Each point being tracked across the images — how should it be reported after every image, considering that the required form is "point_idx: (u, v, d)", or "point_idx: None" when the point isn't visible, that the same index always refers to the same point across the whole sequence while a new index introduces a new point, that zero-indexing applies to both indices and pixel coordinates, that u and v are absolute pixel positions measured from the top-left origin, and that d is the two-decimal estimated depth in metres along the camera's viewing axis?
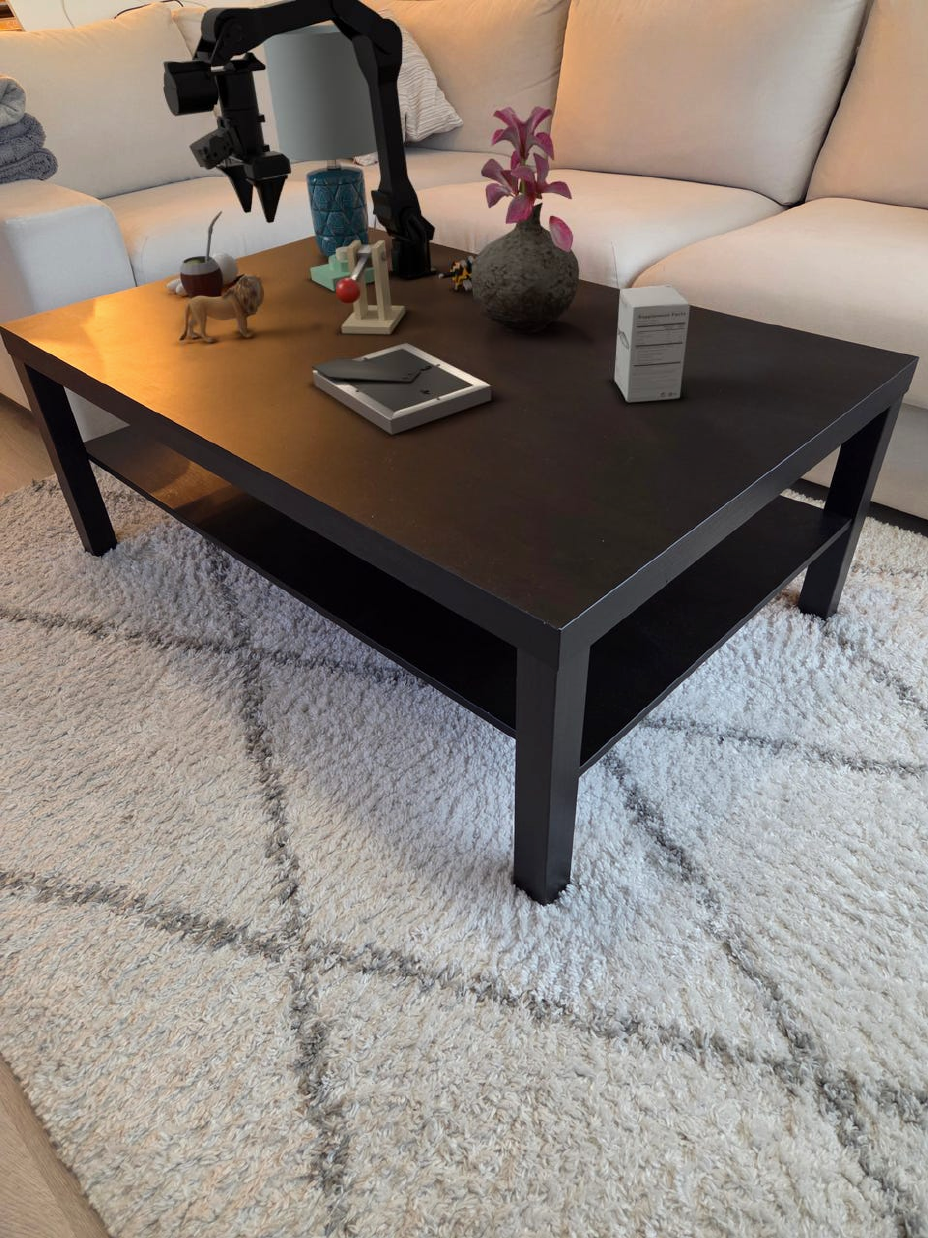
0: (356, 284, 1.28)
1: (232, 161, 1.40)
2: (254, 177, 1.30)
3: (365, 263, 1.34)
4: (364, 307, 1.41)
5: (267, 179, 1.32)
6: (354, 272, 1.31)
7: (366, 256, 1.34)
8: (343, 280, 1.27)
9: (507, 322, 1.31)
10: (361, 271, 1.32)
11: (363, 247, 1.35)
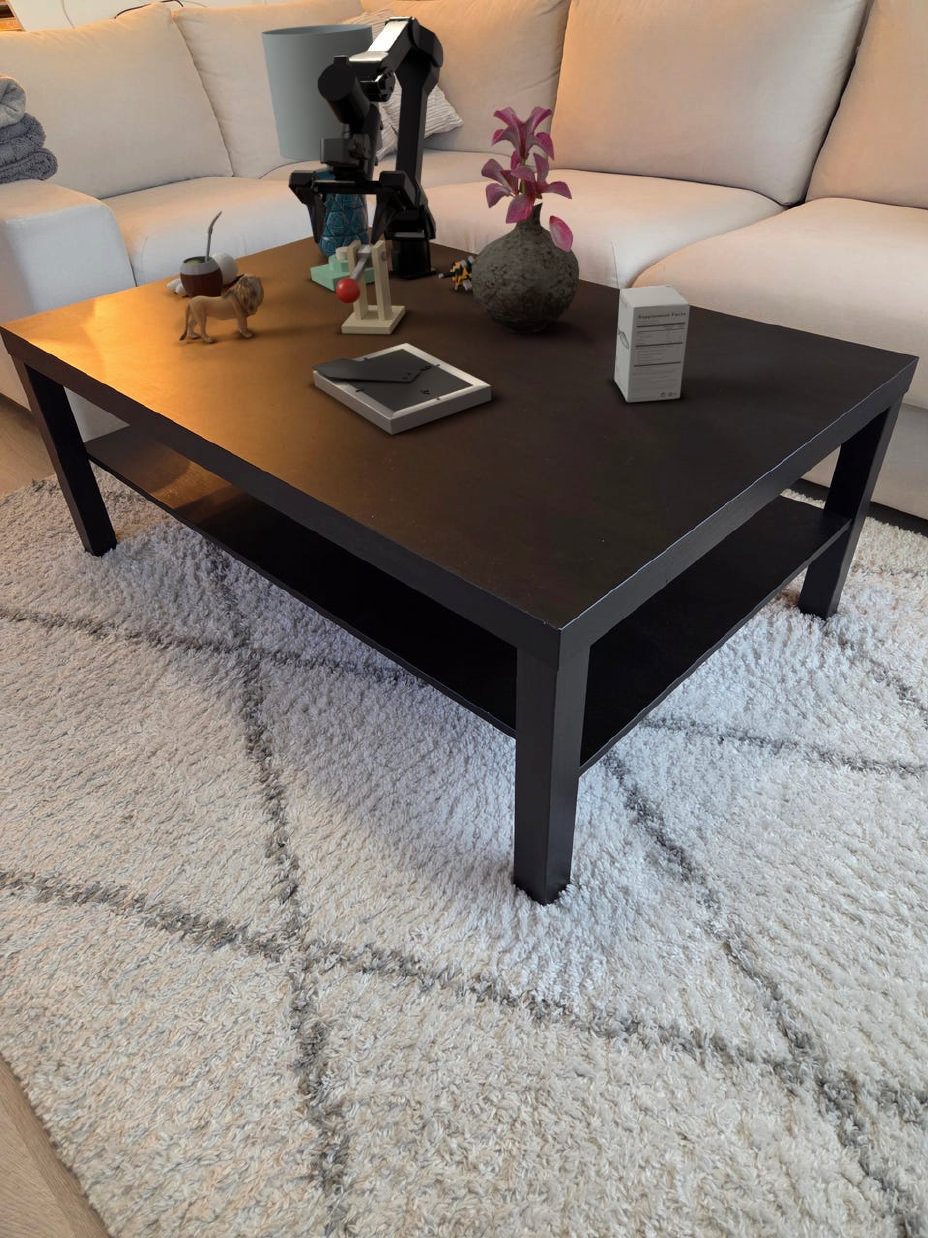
0: (356, 284, 1.28)
1: (317, 190, 1.33)
2: (399, 184, 1.27)
3: (365, 263, 1.34)
4: (364, 307, 1.41)
5: (398, 197, 1.30)
6: (354, 272, 1.31)
7: (366, 256, 1.34)
8: (343, 280, 1.27)
9: (507, 322, 1.31)
10: (361, 271, 1.32)
11: (363, 247, 1.35)
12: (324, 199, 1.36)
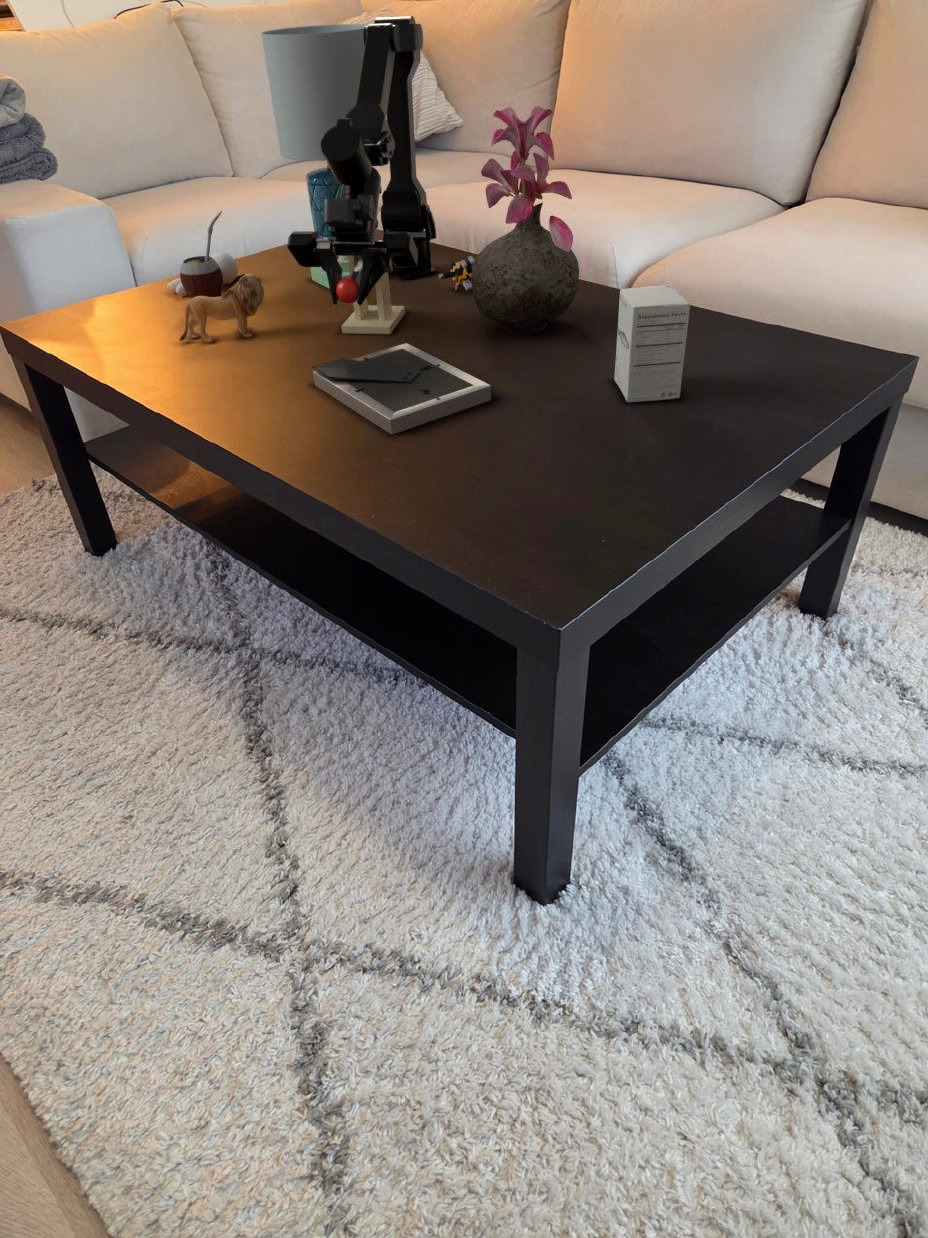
0: (356, 284, 1.28)
1: None
2: (405, 244, 1.25)
3: None
4: (364, 307, 1.41)
5: (385, 257, 1.28)
6: (354, 272, 1.31)
7: None
8: (343, 280, 1.27)
9: (507, 322, 1.31)
10: None
11: None
12: None
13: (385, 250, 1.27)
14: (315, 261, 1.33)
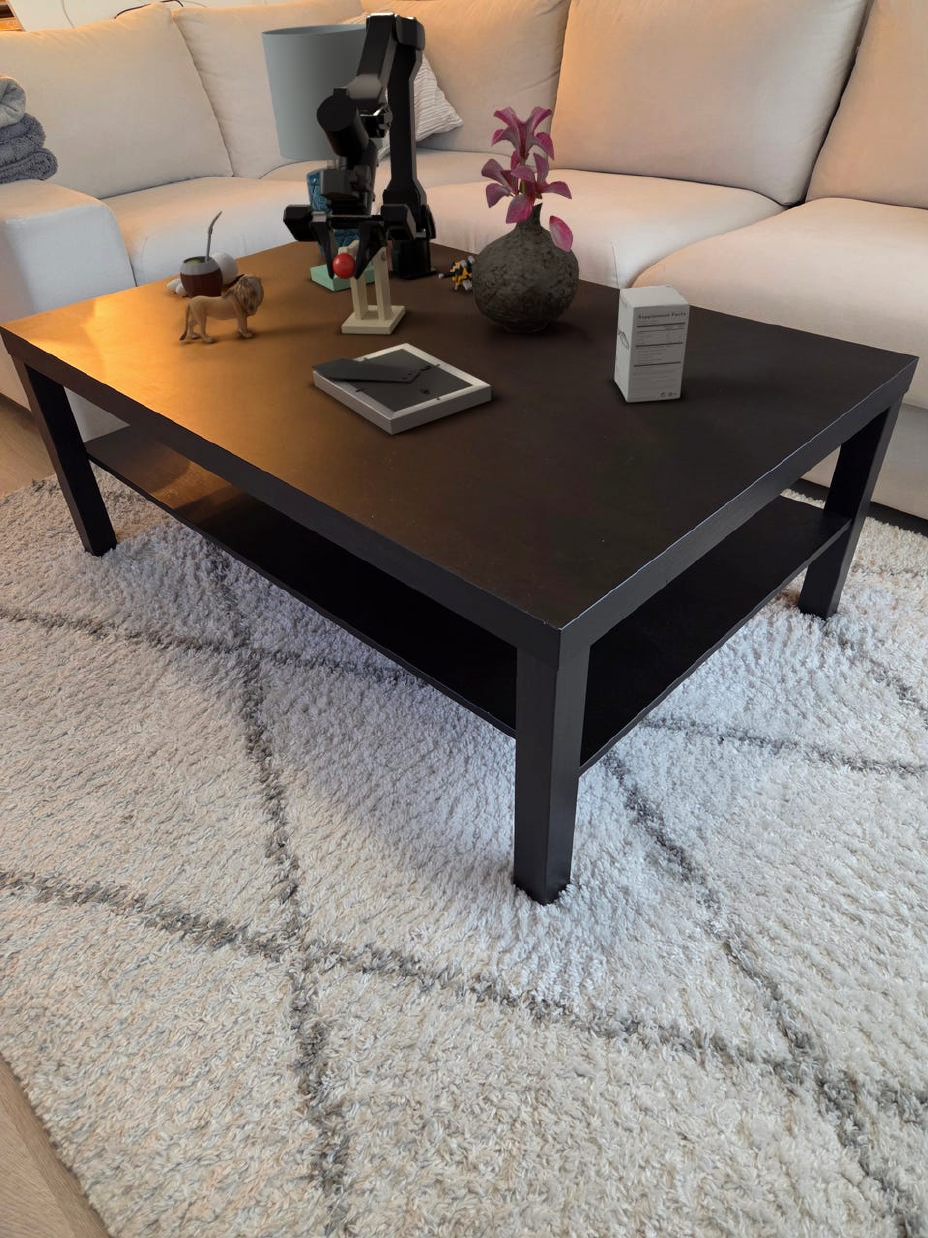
0: (354, 258, 1.26)
1: None
2: (402, 217, 1.22)
3: None
4: (364, 307, 1.41)
5: (382, 231, 1.25)
6: None
7: None
8: (341, 253, 1.25)
9: (507, 322, 1.31)
10: None
11: None
12: None
13: (382, 223, 1.25)
14: (311, 235, 1.31)
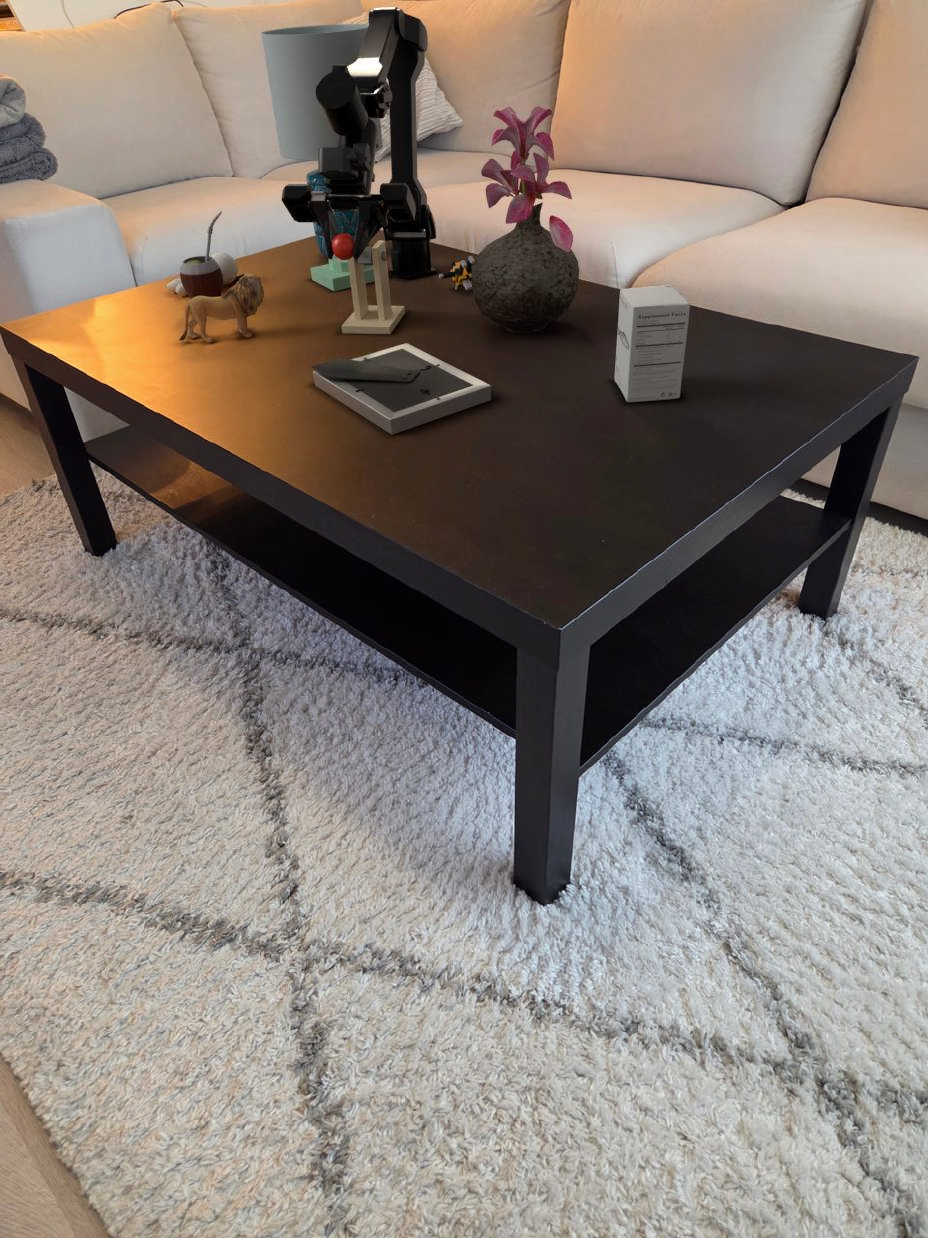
0: (353, 239, 1.25)
1: None
2: (402, 196, 1.21)
3: (364, 252, 1.33)
4: (364, 307, 1.41)
5: (382, 210, 1.24)
6: None
7: (366, 250, 1.34)
8: (341, 233, 1.25)
9: (507, 322, 1.31)
10: None
11: None
12: None
13: (382, 203, 1.24)
14: (310, 216, 1.30)
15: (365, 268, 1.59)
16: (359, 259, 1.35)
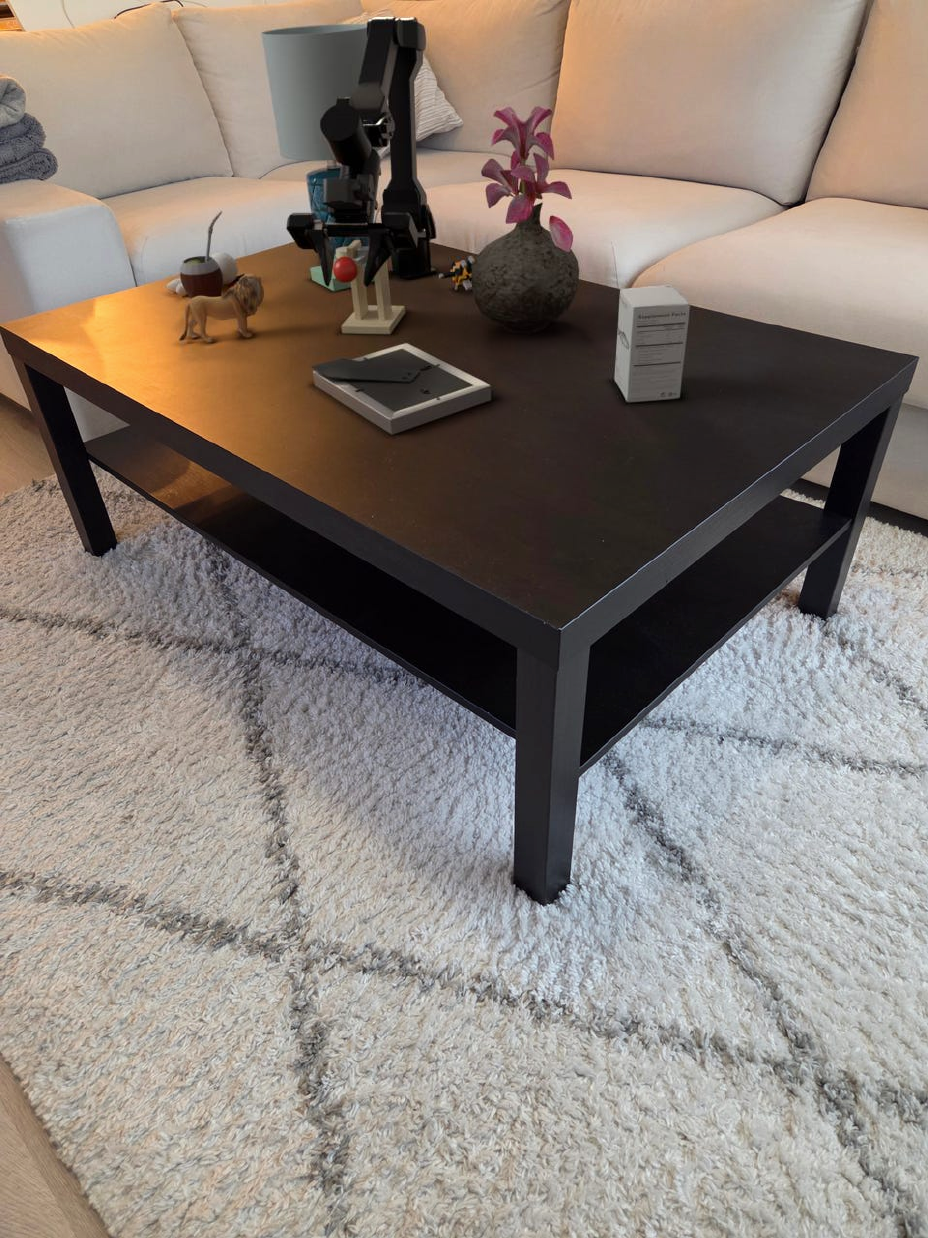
0: (354, 262, 1.26)
1: None
2: (404, 225, 1.24)
3: (364, 258, 1.33)
4: (364, 307, 1.41)
5: (392, 239, 1.26)
6: (353, 260, 1.30)
7: (366, 253, 1.34)
8: (341, 257, 1.26)
9: (507, 322, 1.31)
10: (360, 261, 1.31)
11: (364, 247, 1.36)
12: None
13: None
14: None
15: None
16: None
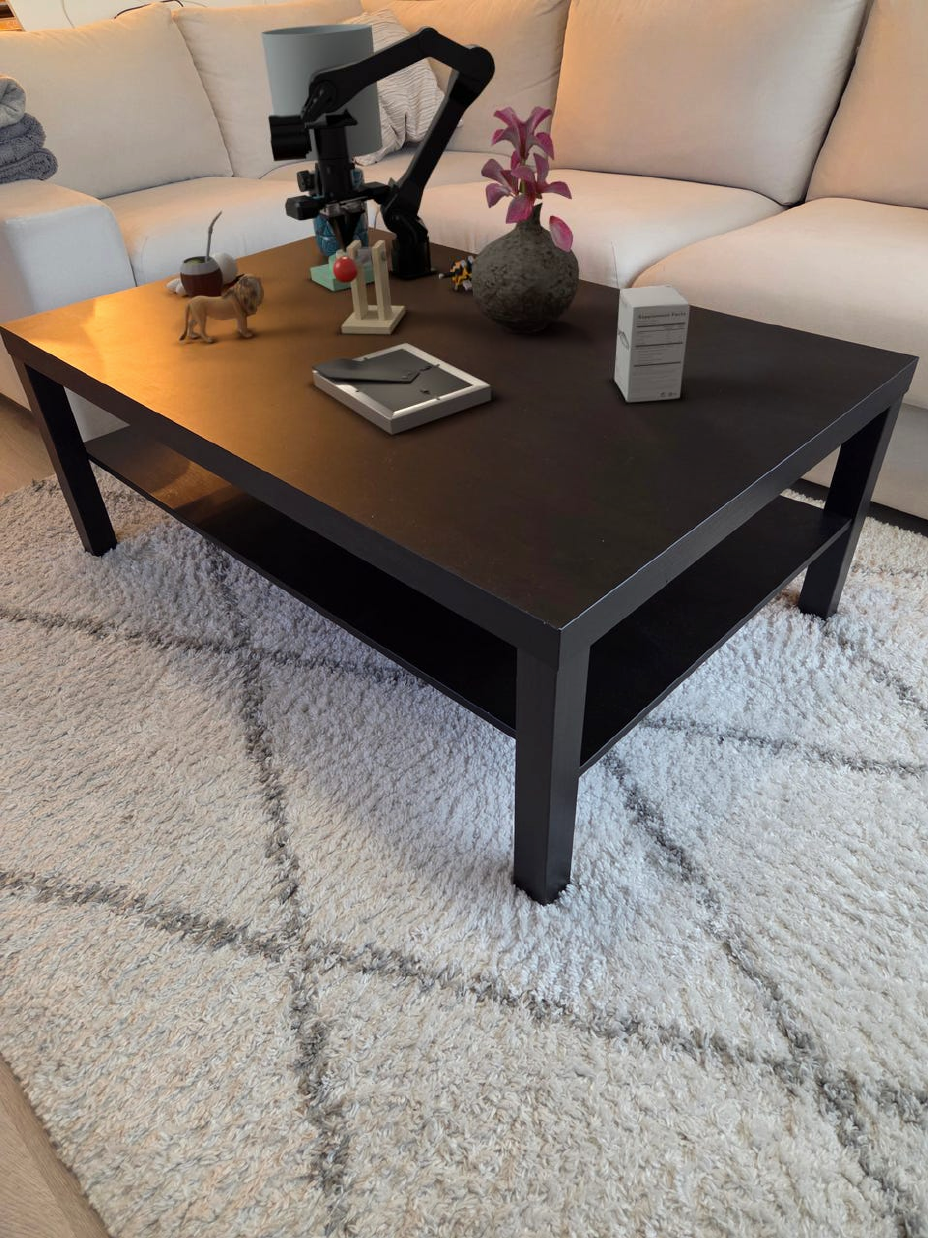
0: (354, 262, 1.26)
1: None
2: None
3: (364, 258, 1.33)
4: (364, 307, 1.41)
5: (320, 214, 1.53)
6: (353, 260, 1.30)
7: (366, 253, 1.34)
8: (341, 257, 1.26)
9: (507, 322, 1.31)
10: (360, 261, 1.31)
11: (364, 247, 1.36)
12: None
13: None
14: None
15: (365, 268, 1.59)
16: None
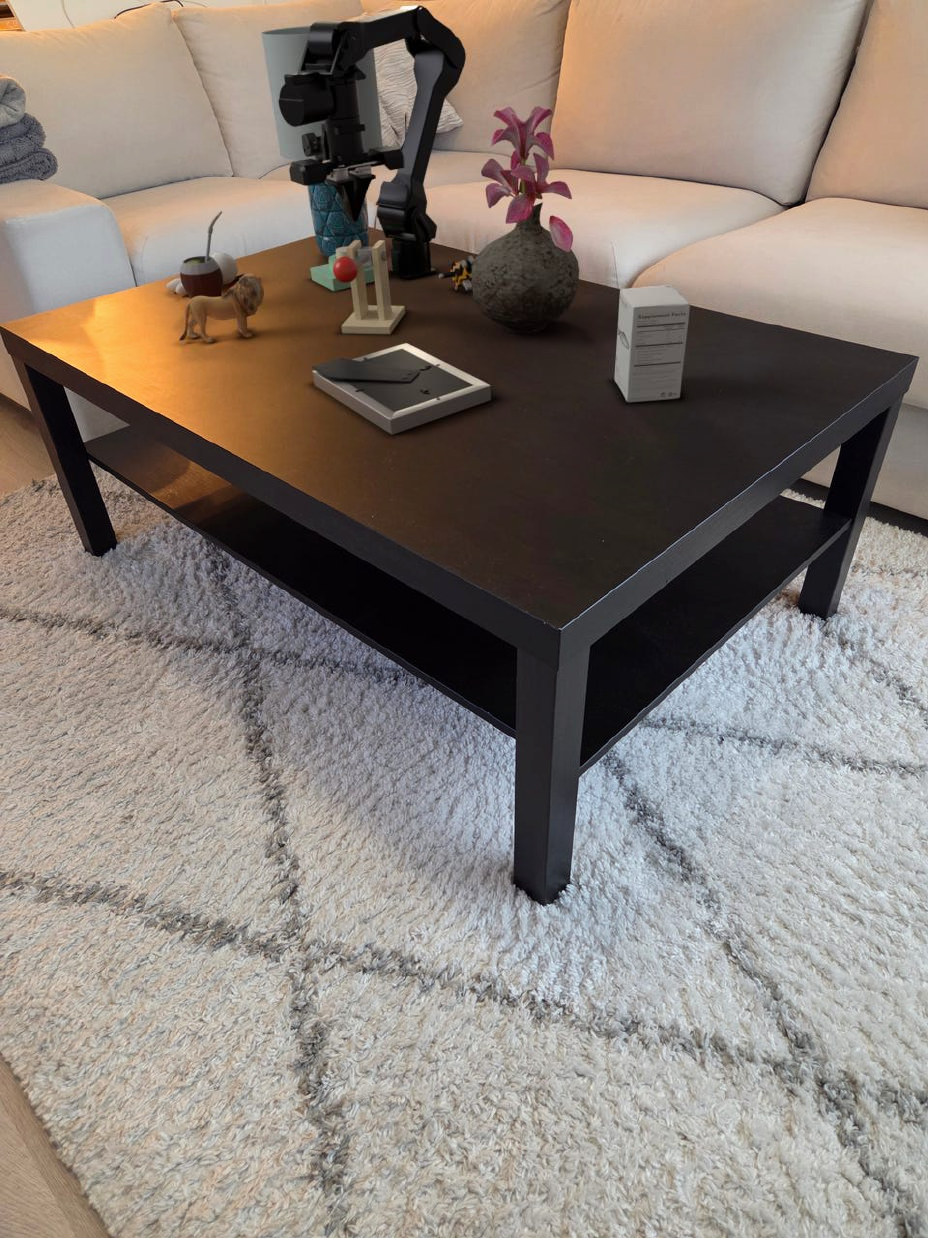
0: (354, 262, 1.26)
1: None
2: None
3: (364, 258, 1.33)
4: (364, 307, 1.41)
5: (327, 180, 1.42)
6: (353, 260, 1.30)
7: (366, 253, 1.34)
8: (341, 257, 1.26)
9: (507, 322, 1.31)
10: (360, 261, 1.31)
11: (364, 247, 1.36)
12: None
13: None
14: None
15: (365, 268, 1.59)
16: None
